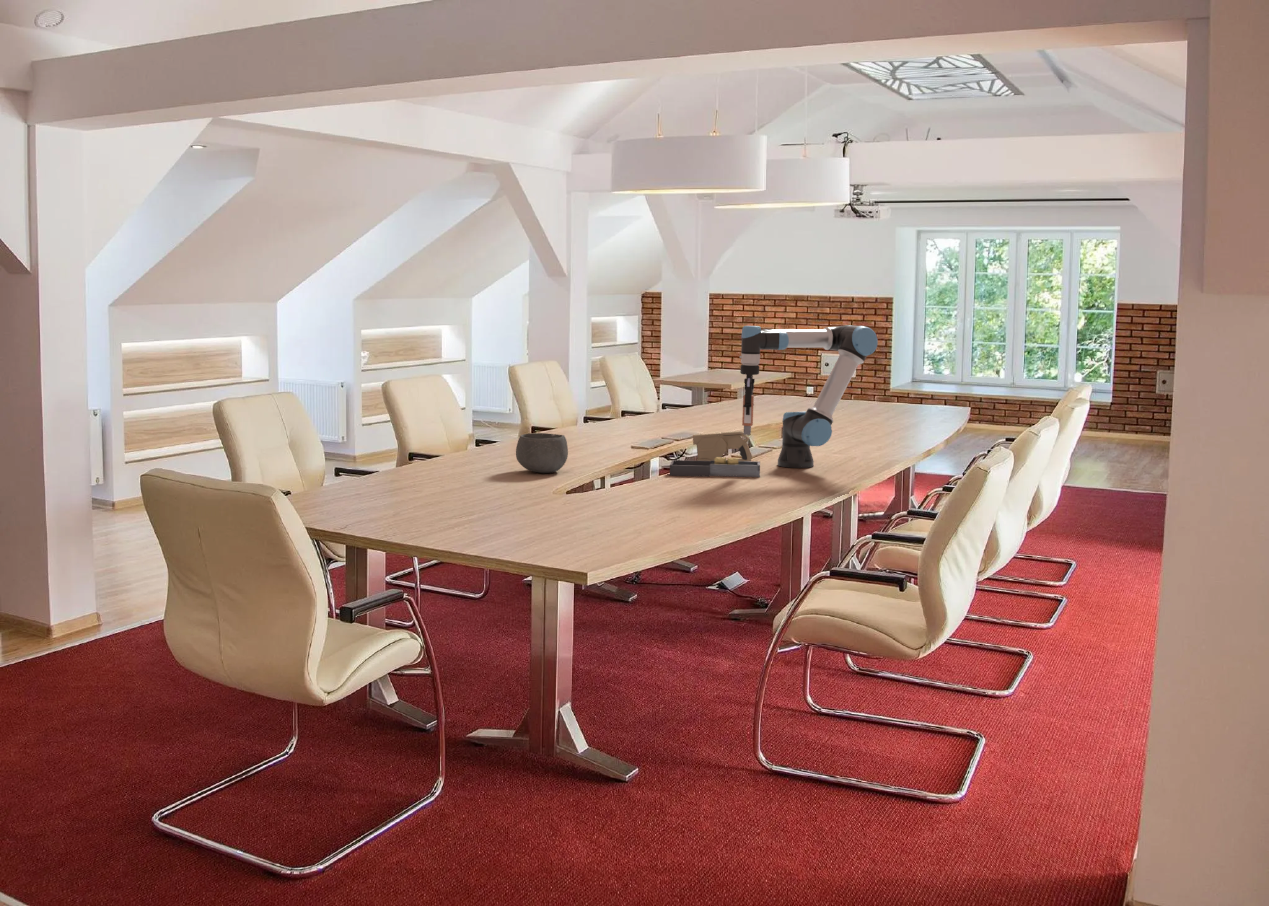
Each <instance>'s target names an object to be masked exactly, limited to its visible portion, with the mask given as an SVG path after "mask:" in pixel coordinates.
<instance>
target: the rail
mask: <svg viewBox="0 0 1269 906" xmlns="http://www.w3.org/2000/svg"><path fill="white" fill-rule="evenodd" d="M710 477H737V478H739V477H740V478H741V477H742V478H743V477H745V478H760V477H761V461H758V460H757V461H752V460H751V461H738V465H733V464H727V461H726V464H715V460H711V464H710Z"/></svg>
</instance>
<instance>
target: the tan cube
mask: <svg viewBox="0 0 1269 906" xmlns="http://www.w3.org/2000/svg"><path fill="white" fill-rule="evenodd" d="M726 460H727V464H733V465H738V457H726Z"/></svg>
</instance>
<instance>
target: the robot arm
mask: <svg viewBox="0 0 1269 906" xmlns="http://www.w3.org/2000/svg"><path fill="white" fill-rule="evenodd" d="M740 338H741V345H740V346H741V348H740V350H741V352H740V353H741V354H740V355H739V359H740V364H741V365H740V374H741V375H745V376H746V377H745V378H744V381H743V383H744V395H745V404H744V405H743V404H742V408H743V407H745V411H744V423H751V398H752V395H753V394H754V388H755V378H754V376H757V375H759V374H760V362H761V350H762V351H763V350H770V351H780V350H781V351H782V350H786V349H787V348H789V349H790V348H793V349H794V348H798V349H799V348H801V349H802V348H803V349H804V348H806V349H808V348H823V349H824V350H826V351H835V352H838V358H837V359H836V361H835V364H834V365H833V368H832V369H831V371H830V374H828V377H827V379H826V381H825V383H824V385H823V387H822V389H821V390H820V393H819V394H818V397H817V398H816V400H815V403H814V404H813V406H810V407H808V408H807V410H806V411H788V412H787V411H786V412H784V413H783V416H782V435H781V436H782V439H781V440H782V441H781V443H782V444H781V450H780V452H779V456H778V459H777V466H778V467H783V468H788V469H789V468H790V469H791V468H793V469H805V468H806V469H807V468H812V467H814V462H815V461H814V458H813V454H812V452H811V447H821V446H824V445H825V444H827V442H829V440H830V439H831V437H832V434H833V430H832V426H833V423H834V419H833V415H834V412H835V411H836V409H837V407H838V405H839V404H840V403H839V402H840V401H841V399H842V397H843V395H844V393H845V391H846V389H847V388H848V385H849V383H850V381H851V379H852V378H853V376H854V373H856V372H855V371H856V370H857V368H858V366H859V365H861V364H864V362H865V360H866V359H867V357H868V356H870V355H872V354H873V353H874V352H875V351H876V350H877V348H878V342H879V340H878V336H877V334H876V332H875V331H874V330H873V329H872V328H871V327H868V326H865V325H851V324H850V325H849V324H848V325H838V326H826V327H824V328H823V329H762V327H761V326H759V325H744V326H742V329H741V337H740Z"/></svg>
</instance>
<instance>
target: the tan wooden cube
mask: <svg viewBox="0 0 1269 906" xmlns="http://www.w3.org/2000/svg"><path fill="white" fill-rule="evenodd" d="M726 460H727V457H723V456H722V457H716V458H715V464H726Z"/></svg>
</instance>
